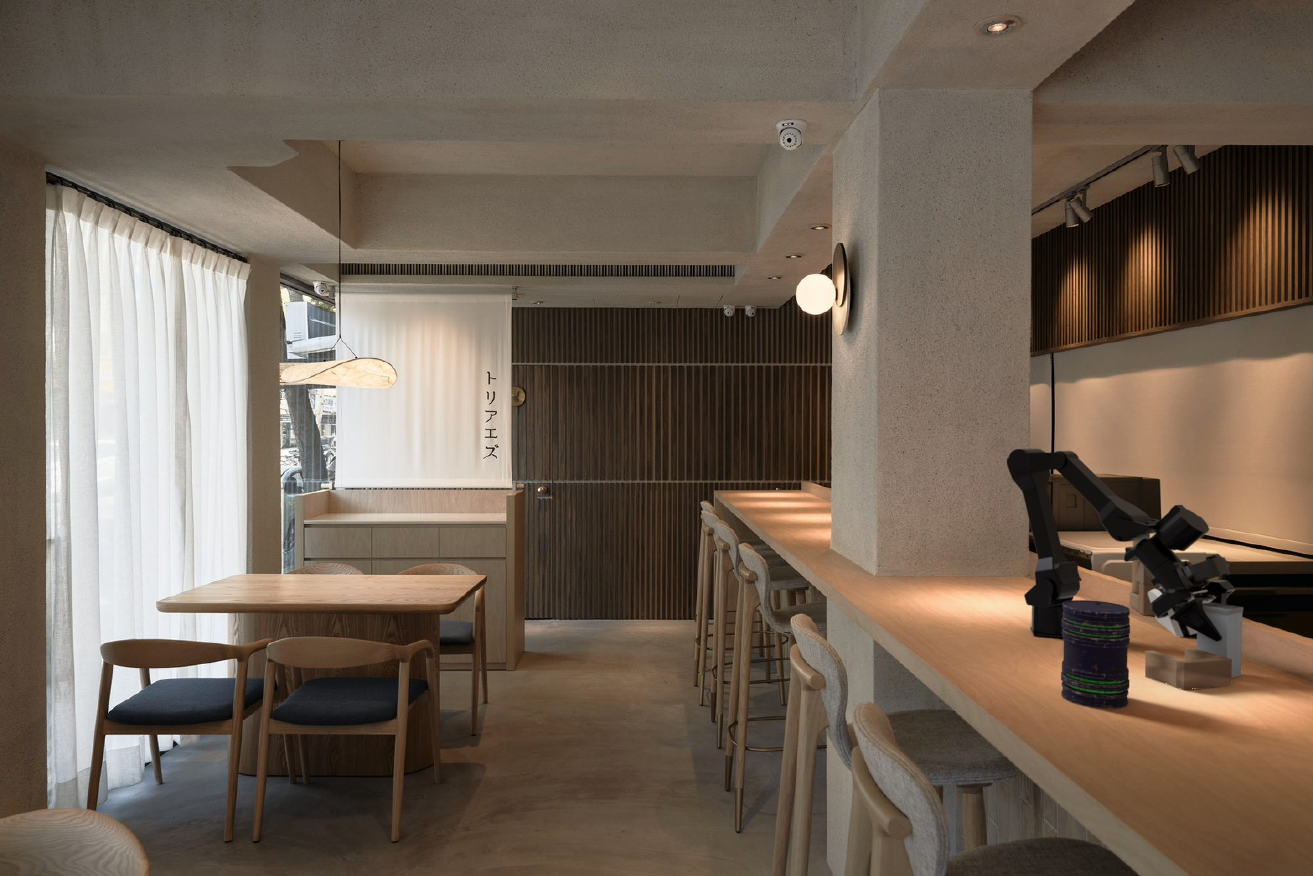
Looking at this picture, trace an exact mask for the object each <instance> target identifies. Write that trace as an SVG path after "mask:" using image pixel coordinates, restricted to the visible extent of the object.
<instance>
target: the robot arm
mask: <svg viewBox="0 0 1313 876" xmlns="http://www.w3.org/2000/svg"><path fill="white" fill-rule="evenodd" d="M1006 466H1007V470H1008V472H1009V473H1010V477H1011V479H1012V481H1013V482H1014V484H1015V485H1016V486H1017V487H1018V488H1019V490H1020V491H1021V492H1022V494H1023V495H1022V496H1023V499H1024V504H1025V508H1026V509H1025V510H1026V513H1027V517H1028V521H1029V525H1030V528H1031V529H1030V530H1031V533H1032V538H1033V541H1034V546H1035V549H1036V554H1037V561H1036V566H1035V570H1034V580H1035V585H1033V586H1032V587H1031V588H1030V589H1029V590H1028V591H1027V592H1026V593H1024V595H1023V596H1024V600H1025V603H1026V605H1027V606H1031V626H1030V627H1029V630H1030V631H1031V633H1032V636H1035V637H1045V636H1049V637H1050V638H1060V637H1062V628H1063V627H1062V619H1063V611H1064V609H1063V603H1064V602H1066V601H1073V600H1074V597H1075V596H1077V594H1078V592H1080V590H1081V589H1080V588H1081V583H1080V582H1081V581H1082V582H1083V579H1082V578H1081V576H1080V574H1079V568H1078V567H1079V566H1078V562H1077V561H1069V560H1068V558H1067V557H1066V556H1065V554H1064V552H1063V547H1062V544H1061V543H1062V542H1061V540H1060V536H1059V532H1058V529H1057V524H1056V519H1055V516H1054V512H1053V506H1052V504H1051V499H1050V496H1049V491H1048V484H1049V481H1050V477H1051V471H1052V470H1054V471H1057V472H1058V473H1059V474H1060V475H1061V476H1062V477H1063V478H1064V479H1065V480H1066V481H1067V482H1068V483H1069V484H1070V485H1071V486H1072V487H1073V488H1074V489H1075V490H1076V491H1077V492H1078V493H1079V494H1080V495H1081V497H1083V498H1084V499H1085V500H1086V501H1087V502H1088V503H1089V504H1090V506H1091V507H1092V508H1094V509H1095V511H1096V512H1097V514H1098V516H1099V519H1100V524H1101V525H1102V526H1103V527H1104V529H1105V531H1106V532H1107V533H1108V534H1109V536H1110V537H1111V538H1112V539H1113V540H1114V541H1116V542H1123V543H1126V542H1133V541H1137V540H1141V541H1140V542H1139V543H1138V544H1136V545H1135V546H1134V547H1133V546H1127V547H1125V548H1124V551H1125V554H1124V557H1123V561H1124V562H1125V563H1127V562H1128V563H1129V562H1132V561H1136V560H1139V561H1140V562H1141V564H1142V565H1143V566H1144V567H1145V568H1146V569H1147V571H1148V572H1149V573H1150V574H1151V575H1152V577H1153V578H1154V579H1153V580H1152V581H1151V582H1152V583H1153V585H1154V586H1156V585H1159V586H1160V587H1162V588H1163V589H1164V591H1165V592H1164V593H1163V594H1161V595H1160V596H1159V597H1158V598H1156V599H1155V600H1154V601H1153V602H1151V611H1152V612H1153V613H1154V614H1155V616H1154V617H1155V618H1156V617H1157V618H1158V619H1159V618H1164V617H1167V616H1168V611H1169V610H1170V609H1172V608H1173V612H1174V613H1175V614H1174V615H1172V616H1171V617H1170V619H1171V620H1175V621H1177V622H1179V623H1181V624H1183V625H1185V626H1188V627H1190V628H1192V629H1194V630H1196V631H1197V632H1199V633H1201V634H1203V635H1205V636H1207V637H1209V638H1211V639H1213V640H1214V641H1216V642H1218V641H1220V640H1221V639H1222V637H1221V635H1220V633H1219V632H1218V630H1217V629H1216V628H1215V626H1214V625H1213V623H1212V622H1211V621H1210V619H1209V618H1208V616H1207V615H1206V613H1205V612H1204V611H1203V604H1205V603H1210V602H1214V603H1220V604H1226V605H1227V600H1228V599H1227V598H1229V596H1230V595H1231V594H1233V592H1235V591H1236V588H1235V587H1234V586H1233V584H1231V583H1230V581H1229V580H1226V579H1218V580H1212V581H1210V579H1215V578H1217V577H1221V576H1224V577H1225V576H1229V575H1231V572H1230V571H1229V569H1230V567H1231V566H1230V565H1231V562H1230V561H1228V560H1227V559H1226V557H1223V556H1222V555H1220V554H1219V553H1216V554H1212V555H1210V556H1206V558H1205V560H1203V561H1200V562H1197V563H1196V562H1195V563H1192V562H1191V561H1189V560H1182V559H1181V558H1180V557H1179V556H1178V554H1176V553H1175V552H1174V551H1180V552H1185V551H1187V550H1188V549H1189V548H1190V547H1191V546H1192V545H1193V544H1195V543H1196V542H1197V541H1199V540H1200V539H1201V538H1202V537H1203V536H1205V535H1206V534H1207V533H1208V532H1210V527H1209V525H1208V524H1207V522H1206V521H1205V520H1204V518H1203V517H1201V516H1200V515H1198V514H1197V513H1195V512H1194V511H1192V510H1190V509H1187V508H1186V507H1185V506H1184V505H1183V504H1175V505H1174V506H1173V507H1171V508H1170V510H1169V511H1168V512H1167V513H1166V515H1164V516H1163V517H1162V518H1161V519H1154V518H1151V517H1150V515H1148V514H1147V512H1144V511H1143V510H1142V509H1140V508H1139V507H1137V506H1136V505H1134V504H1132V503H1131V502H1128V501H1126V500H1125V499H1123V498H1121V497H1120V496H1118V495H1116V493H1115V492H1114V491H1113V490H1112V489H1110V487H1109V486H1107V485H1106V484H1105V483H1104V482H1103V481H1102V479H1101V478H1099V477H1098V476H1097V474H1095V473H1094V472H1093V471H1092V470H1091V469H1090V468H1089V467H1088V466H1087V465H1086V464H1085V463H1084V462H1083V461H1082V460H1081V459H1080V458H1079V456H1078V454H1077V453H1076V452H1074V451H1072V450H1058V451H1054V452H1053V451H1052V452H1046V451H1044V450H1042V449H1041V448H1016V449H1013V450H1012V451H1011V452H1010V453H1009V454H1008V456H1007V458H1006ZM1151 534H1154V535H1152V536H1151ZM1149 535H1150V539H1145V538H1147V537H1148V536H1149Z"/></svg>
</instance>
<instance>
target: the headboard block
mask: <svg viewBox="0 0 1313 876" xmlns="http://www.w3.org/2000/svg"><path fill="white" fill-rule="evenodd" d="M1144 665H1145V666H1144V667H1145V668H1144V669H1145V671H1144V677H1146V678H1147V679H1148V678H1149V679H1150V678H1151V680H1153V679H1154V680H1153V681H1157V682H1159V683H1162V684H1165V683H1167V684H1169V685H1168V686H1170V685H1172V686H1171V687H1173V686H1174V687H1173V688H1177V689H1179V688H1181V689H1180V690H1182V689H1183V691H1187V690H1186V689H1191V690H1195V689H1194V688H1202V689H1209V688H1208V687H1213V688H1220V687H1221V688H1222V686H1223V687H1232V679H1233V678H1232V659H1229V658H1226V657H1222V656H1219V655H1216V654H1212V653H1209V652H1205V651H1202V650H1198V649H1197V648H1194V647H1185V648H1184V659H1182V658H1178V657H1174V656H1171V655H1168V654H1165V653H1161V652H1159V651H1155V650H1145V663H1144ZM1167 684H1166V685H1167ZM1229 685H1230V686H1229ZM1192 688H1193V689H1192Z"/></svg>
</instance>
